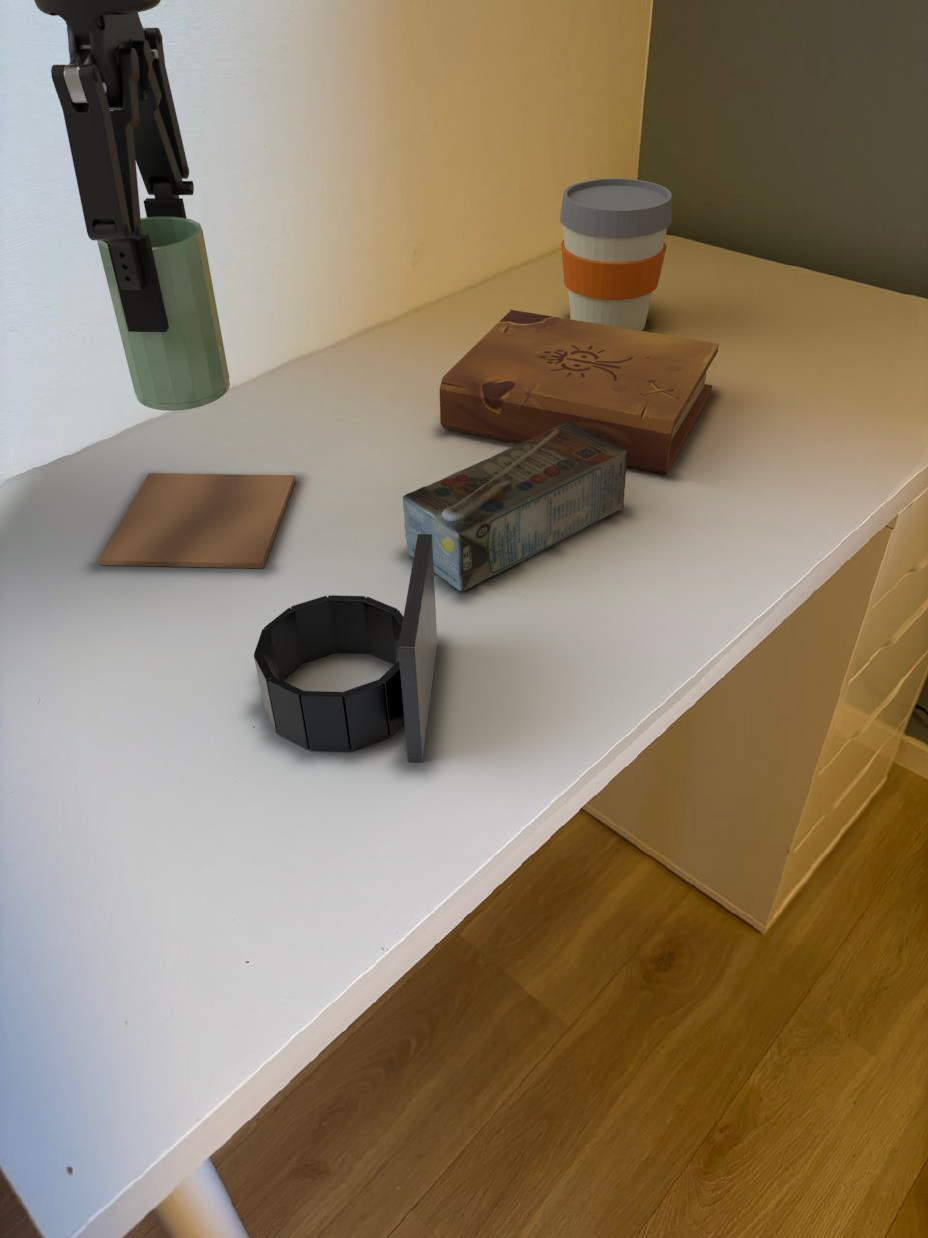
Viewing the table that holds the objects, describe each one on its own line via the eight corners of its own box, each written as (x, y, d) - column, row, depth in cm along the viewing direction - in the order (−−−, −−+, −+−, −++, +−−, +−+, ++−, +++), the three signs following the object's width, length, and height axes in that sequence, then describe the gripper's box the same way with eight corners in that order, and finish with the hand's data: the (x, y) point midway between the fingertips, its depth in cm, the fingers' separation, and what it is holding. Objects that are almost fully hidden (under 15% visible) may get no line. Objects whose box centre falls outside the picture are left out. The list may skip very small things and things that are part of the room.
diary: (440, 433, 100) (438, 380, 96) (510, 358, 113) (510, 309, 109) (664, 478, 92) (671, 422, 89) (711, 393, 105) (719, 341, 102)
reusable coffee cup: (650, 350, 114) (664, 215, 104) (544, 338, 117) (548, 206, 108) (667, 308, 123) (682, 181, 114) (568, 298, 126) (574, 174, 117)
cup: (123, 410, 75) (81, 249, 67) (152, 368, 81) (117, 215, 73) (216, 411, 75) (185, 250, 67) (239, 369, 80) (213, 216, 72)
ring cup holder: (249, 756, 66) (223, 643, 60) (285, 640, 75) (266, 530, 69) (422, 762, 66) (414, 647, 59) (437, 643, 75) (432, 533, 68)
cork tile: (99, 565, 84) (97, 559, 83) (150, 478, 94) (148, 472, 94) (263, 568, 83) (262, 562, 82) (295, 480, 93) (294, 474, 93)
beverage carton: (401, 553, 84) (396, 485, 80) (566, 475, 93) (569, 412, 89) (460, 597, 79) (458, 528, 75) (628, 511, 88) (635, 445, 84)
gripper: (85, -50, 51) (175, 368, 65) (193, -84, 66) (247, 259, 81) (-56, -48, 51) (64, 366, 66) (84, -83, 67) (157, 259, 81)
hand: (165, 307), depth 73 cm, fingers closed on cup, 7 cm apart
